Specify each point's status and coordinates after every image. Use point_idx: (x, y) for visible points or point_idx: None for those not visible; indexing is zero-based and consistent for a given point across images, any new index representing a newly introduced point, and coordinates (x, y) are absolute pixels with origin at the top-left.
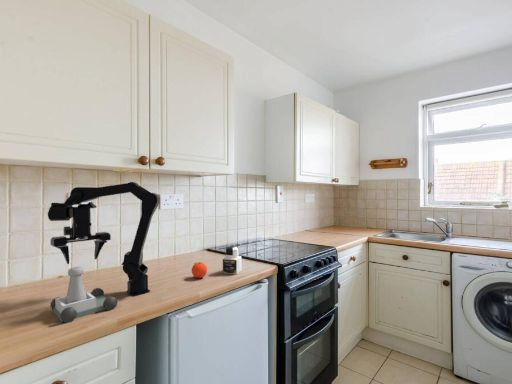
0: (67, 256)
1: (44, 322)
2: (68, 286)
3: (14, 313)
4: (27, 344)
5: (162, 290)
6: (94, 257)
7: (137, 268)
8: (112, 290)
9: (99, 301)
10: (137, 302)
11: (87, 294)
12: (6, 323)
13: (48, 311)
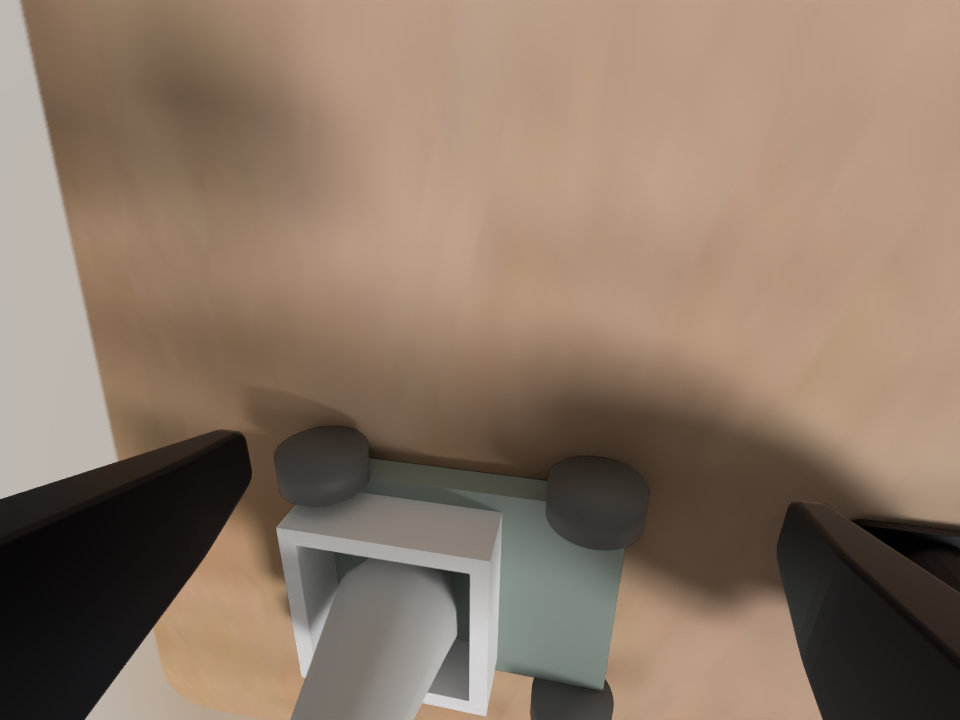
0: (92, 665)
1: (270, 550)
2: (295, 705)
3: (122, 277)
4: (218, 676)
5: None
6: (808, 522)
7: None
8: (812, 362)
9: (549, 607)
10: (740, 714)
11: (470, 620)
12: (114, 412)
13: (294, 418)
